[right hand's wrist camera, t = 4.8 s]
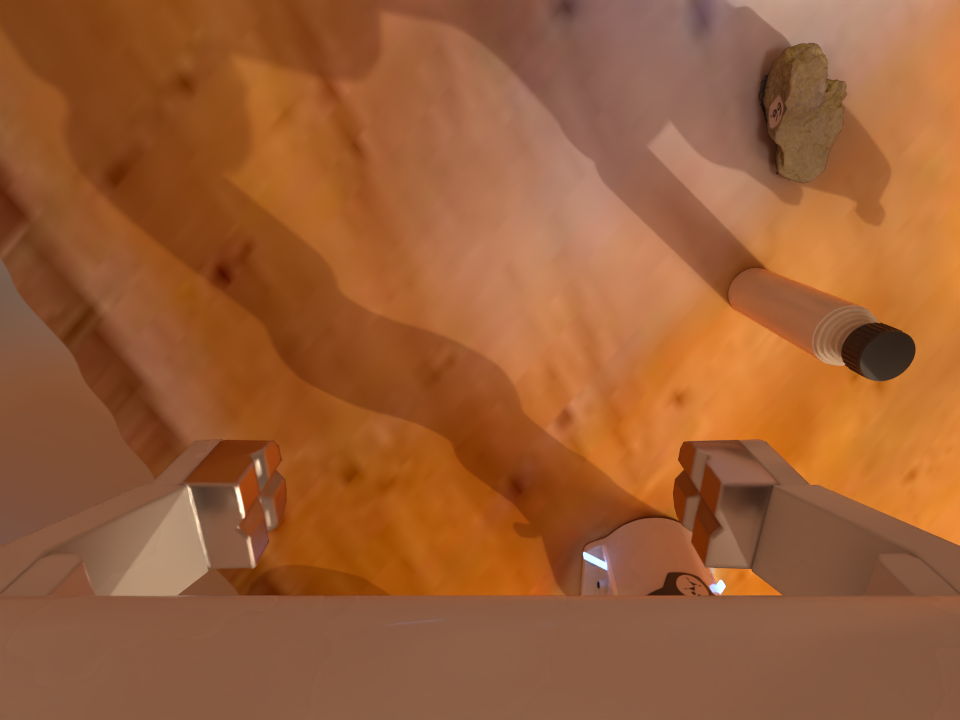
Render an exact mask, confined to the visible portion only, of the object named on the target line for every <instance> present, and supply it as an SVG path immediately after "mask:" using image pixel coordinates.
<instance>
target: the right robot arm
mask: <svg viewBox="0 0 960 720" xmlns="http://www.w3.org/2000/svg"><path fill="white" fill-rule="evenodd" d="M281 461H282V458H281V454H280V449H279V445H278V444H277V443H276V442H275V441H259V440H223V439H218V440H198V441H194V442H193V443H192V444H191V445H190V446H189V447H188V448H187V449H186V450H185V451H184V452H183V453H182V454H181V455H180V456H179V457H178V458H177V459H176V460H175V461H174V462H173V463H172V464H171V465H170V466H169V467H168V468H167V469H166V470H165V471H164V472H163V473H162V474H161V475H160V476H159V477H158V478H156V479H155V480H154V481H153V482H152V483H151V484H150V485H141V486H138V487H136V488H134V489H131V490H129V491H127V492H124V493H122V494H120V495H117V496H115V497H113V498H110V499H108V500H106V501H103V502H101V503H99V504H97V505H94V506H92V507H89V508H87V509H85V510H83V511H80V512H78V513H76V514H73V515H71V516H69V517H66V518H64V519H62V520H59V521H57V522H55V523H52V524H50V525H48V526H45V527H43V528H41V529H38V530H36V531H34V532H31V533H29V534H27V535H24V536H22V537H20V538H17V539H15V540H13V541H10V542H8V543H6V544H3V545H1V546H0V720H960V546H958V545H956V544H954V543H952V542H949V541H947V540H945V539H942V538H940V537H938V536H935V535H933V534H931V533H928V532H926V531H924V530H921V529H919V528H917V527H914V526H912V525H910V524H907V523H905V522H903V521H901V520H898V519H896V518H894V517H891V516H889V515H887V514H884V513H882V512H880V511H877V510H875V509H873V508H870V507H868V506H866V505H863V504H861V503H859V502H856V501H854V500H852V499H850V498H847V497H845V496H843V495H840V494H838V493H836V492H833V491H831V490H829V489H826V488H824V487H822V486H819V485H810V484H809V483H808V482H807V481H806V480H805V479H804V478H803V477H802V476H800V475H799V474H798V473H797V472H796V471H795V470H794V469H793V468H792V467H791V466H790V465H789V464H788V463H787V462H786V461H785V460H784V459H783V458H782V457H781V456H780V455H779V454H778V453H777V452H776V451H775V450H774V449H773V448H772V447H771V446H770V445H769V444H768V443H767V442H766V441H763V440H760V439H753V440H718V441H687V442H683V444H682V446H681V448H680V453H679V458H678V461H679V462H680V464H681V465H682V467H683V468H684V470H683V471H682V472H681V473H680V474H679V475H678V476H677V478H676V479H675V483H674V491H673V498H674V508H675V511H676V514H677V517H678V519H679V521H680V523H681V525H682V526H683V527H685V528H686V529H688V530H689V531H691V532H692V539H691V543H692V545H693V547H694V548H695V550H696V552H697V554H698V555H699V557H700V559H701V561H702V563H703V564H704V566H705V568H739V569H752V572H754V573H755V574H756V575H758V576H759V577H760V578H762V579H763V580H764V581H765V582H767V583H768V584H769V585H771V586H772V587H773V588H774V589H776V590H777V591H778V592H780V593H781V594H782V595H784V596H177V595H178V594H179V593H180V592H182V591H183V590H184V589H186V588H187V587H188V586H190V585H191V584H192V583H193V582H195V581H196V580H197V579H199V578H200V577H201V576H203V575H204V574H205V573H206V572H208V569H221V568H255V566H256V564H257V563H258V561H259V559H260V557H261V556H262V554H263V552H264V550H265V548H266V547H267V545H268V543H269V539H268V532H269V531H271V530H272V529H274V528H275V527H277V526H278V525H279V523H280V521H281V519H282V517H283V515H284V510H285V506H286V502H287V489H286V482H285V479H284V478H283V476H282V475H281V474H280V473H279V472H278V471H277V470H276V468H277V467H278V465H279V464H280V462H281Z"/></svg>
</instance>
